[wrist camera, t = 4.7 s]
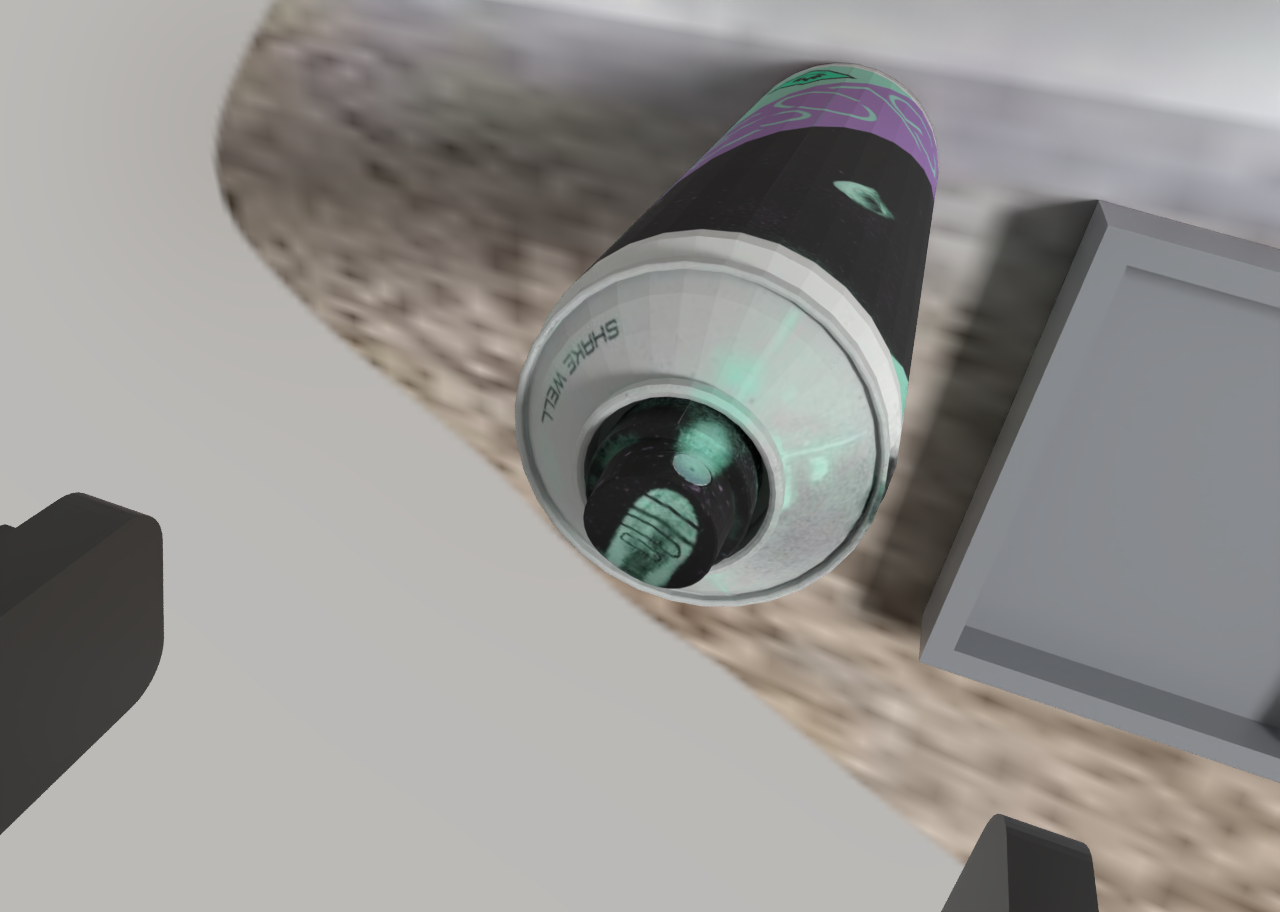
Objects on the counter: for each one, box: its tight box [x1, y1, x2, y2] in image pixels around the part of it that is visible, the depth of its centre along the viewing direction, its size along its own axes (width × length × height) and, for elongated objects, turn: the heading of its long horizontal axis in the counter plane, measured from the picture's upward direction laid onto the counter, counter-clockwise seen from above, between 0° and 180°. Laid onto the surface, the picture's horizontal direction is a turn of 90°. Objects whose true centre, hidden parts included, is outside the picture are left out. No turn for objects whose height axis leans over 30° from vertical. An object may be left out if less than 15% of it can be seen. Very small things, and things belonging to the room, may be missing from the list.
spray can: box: [515, 63, 939, 606], centre depth 22 cm, size 6×6×20 cm
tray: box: [919, 200, 1280, 783], centre depth 31 cm, size 14×12×2 cm
